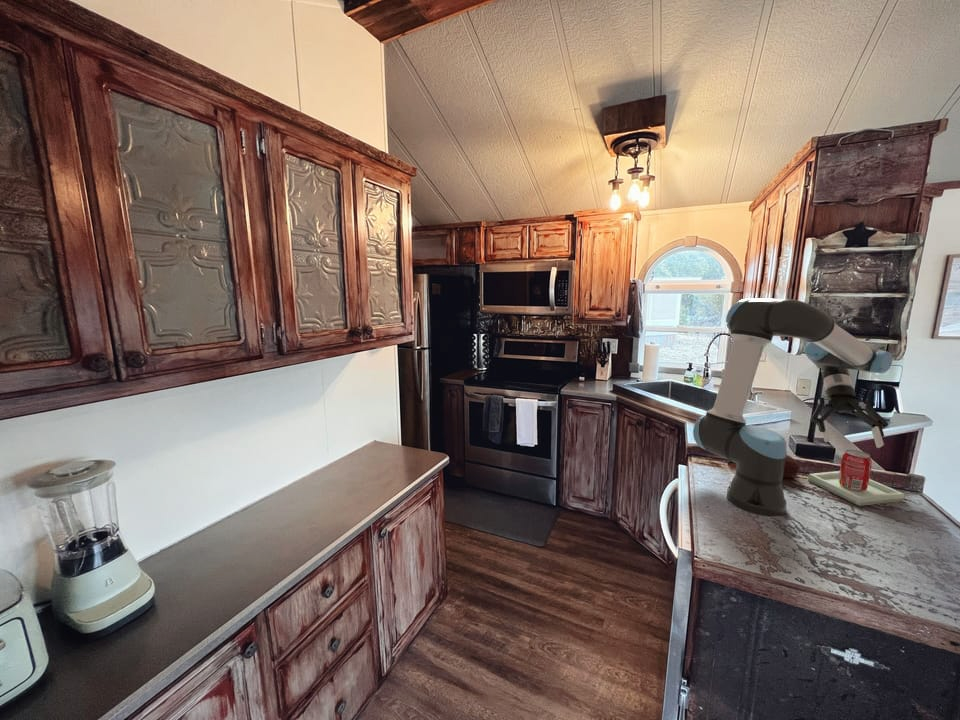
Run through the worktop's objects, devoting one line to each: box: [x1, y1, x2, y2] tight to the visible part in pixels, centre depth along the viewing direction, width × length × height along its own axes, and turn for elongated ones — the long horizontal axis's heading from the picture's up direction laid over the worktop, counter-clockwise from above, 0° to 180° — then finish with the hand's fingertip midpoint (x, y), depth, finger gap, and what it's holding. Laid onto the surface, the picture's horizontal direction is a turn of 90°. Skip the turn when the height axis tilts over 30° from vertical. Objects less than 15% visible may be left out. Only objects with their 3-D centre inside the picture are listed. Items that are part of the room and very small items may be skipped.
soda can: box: [839, 449, 873, 491], centre depth 124 cm, size 7×7×12 cm
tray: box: [807, 470, 905, 507], centre depth 125 cm, size 16×16×2 cm
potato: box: [783, 454, 801, 478], centre depth 135 cm, size 12×11×8 cm
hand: (853, 443), depth 128 cm, fingers open, 13 cm apart
